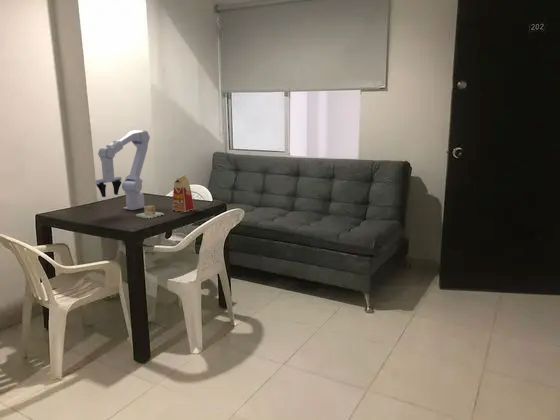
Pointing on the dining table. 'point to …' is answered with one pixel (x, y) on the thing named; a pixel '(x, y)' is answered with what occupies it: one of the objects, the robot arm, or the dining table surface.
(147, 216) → the coaster
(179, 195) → the milk carton
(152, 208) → the maple block
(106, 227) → the dining table surface
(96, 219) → the dining table surface
